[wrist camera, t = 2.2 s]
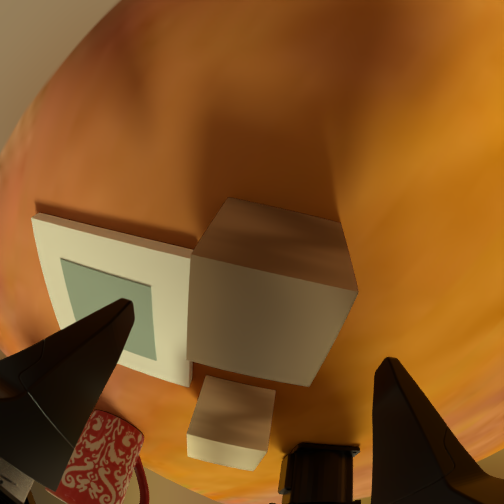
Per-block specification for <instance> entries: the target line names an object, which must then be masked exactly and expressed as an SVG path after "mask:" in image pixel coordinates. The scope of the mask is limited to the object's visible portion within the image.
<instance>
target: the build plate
mask: <svg viewBox="0 0 504 504" xmlns="http://www.w3.org/2000/svg"><path fill="white" fill-rule="evenodd" d="M31 220H32V226H33V231H34V236H35V241H36V246H37V250H38V255H39V259H40V263H41V267H42V271H43V275H44V279H45V282H46V286H47V289H48V293H49V296H50V299H51V302H52V306H53V309H54V312H55V315H56V318H57V320H58V323H59V326H60V329H61V330H62V329H64V328H65V327H67V326H69V325H71V324H73V323H75V322H77V321H78V320H80V319H82V318H84V317H86V316H88V315H90V314H92V313H93V312H95V311H97V310H99V309H101V308H103V307H105V306H107V305H108V304H110V303H112V302H114V301H116V300H118V299H120V298H126V299H129V300H131V301H132V302H133V305H134V313H135V322H134V325H133V327H132V329H131V332H130V334H129V337H128V339H127V342H126V344H125V347H124V349H123V352H122V354H121V356H120V359H119V361H118V364H120V365H123V366H126V367H128V368H131V369H134V370H136V371H139V372H142V373H145V374H148V375H151V376H154V377H157V378H160V379H163V380H166V381H169V382H172V383H175V384H179V385H182V386H185V387H189V386H190V383H191V381H192V366H193V362H192V361H189V360H186V352H187V316H188V293H189V275H190V259H191V253H192V252H193V250H192V249H188V248H184V247H179V246H175V245H171V244H167V243H163V242H158V241H154V240H150V239H146V238H142V237H137V236H133V235H129V234H125V233H121V232H117V231H112V230H108V229H104V228H100V227H96V226H92V225H88V224H84V223H80V222H76V221H72V220H68V219H64V218H60V217H56V216H52V215H48V214H44V213H40V212H39V213H38V214H36V215H35V216H33V217H32V218H31Z"/></svg>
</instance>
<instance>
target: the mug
mask: <svg viewBox="0 0 504 504" xmlns="http://www.w3.org/2000/svg"><path fill="white" fill-rule="evenodd" d="M143 442H144V437H143V435H142V434H141V432H139V431H138V430H137V429H136V428H135V427H133V426H132V425H131V424H129V423H127V422H126V421H124V420H122V419H121V418H119V417H117V416H114V415H112V414H110V413H107V412H104V411H100V410H95V411H94V412H93V413H92V414H91V416H90V417H89V419H88V421H87V423H86V425H85V427H84V429H83V432H82V434H81V436H80V438H79V440H78V442H77V444H76V447H75V448H74V451H73V453H72V456H71V458H70V460H69V462H68V465H67V467H66V469H65V472H64V474H63V476H62V479H61V481H60V483H59V486H58V488H57V490H56V492H54V491H52V490H50V489H49V488H47V487H46V488H45V489H46V490H47V491H48V492H49V493H51V494H52V495H54V496H55V497H57V498H59V499H60V500H62V501H63V502H65V503H67V504H123V501H124V497H125V494H126V491H127V488H128V485H129V482H130V479H131V477H132V473H133V470H135V473H136V476H137V480H138V484H139V489H140V503H139V504H149V489H148V484H147V480H146V476H145V472H144V469H143V465H142V462H141V459H140V456H139V453H140V450H141V447H142V445H143Z"/></svg>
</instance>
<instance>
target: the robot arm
mask: <svg viewBox="0 0 504 504" xmlns="http://www.w3.org/2000/svg"><path fill="white" fill-rule="evenodd" d="M134 322H135V313H134V305H133V302H132V301H131V300H129V299H126V298H120V299H118V300H116V301H114V302H112V303H110V304H108V305H107V306H105V307H103V308H101V309H99V310H97V311H95V312H93V313H92V314H90V315H88V316H86V317H84V318H82V319H80V320H78V321H77V322H75V323H73V324H71V325H69V326H67V327H65V328H64V329H62V330H60V331H58V332H56V333H54V334H53V335H51V336H49V337H47V338H45V340H41V341H40V342H38V343H36V344H34V345H32V346H30V347H28V348H26V349H24V350H22V351H20V352H18V353H16V354H13V355H11V356H9V357H6V358H4V359H2V360H0V504H36V503H35V501H34V498H33V495H32V492H31V490H30V488H31V486H32V484H33V482H34V480H35V481H37V482H38V483H40V484H42V485H43V486H45V487H47V488H49V489H50V490H52V491H54V492H56V490H57V488H58V486H59V483H60V481H61V479H62V476H63V474H64V472H65V469H66V467H67V465H68V462H69V460H70V458H71V456H72V453H73V451H74V448H75V447H76V444H77V442H78V440H79V438H80V436H81V434H82V432H83V429H84V427H85V425H86V423H87V421H88V419H89V417H90V415H91V413H92V411H93V409H94V407H95V405H96V403H97V401H98V399H99V397H100V395H101V393H102V391H103V389H104V387H105V385H106V383H107V381H108V379H109V378H110V376H111V374H112V372H113V370H114V368H115V366H116V364H117V363H118V361H119V359H120V356H121V354H122V352H123V349H124V347H125V344H126V342H127V339H128V337H129V334H130V332H131V329H132V327H133V325H134ZM372 423H373V470H372V494H371V504H504V479H500V478H496V477H493V476H490V475H488V474H487V473H485V472H484V471H483V470H482V469H481V468H480V467H479V465H478V464H477V463H476V462H475V460H474V459H473V458H472V457H471V456H470V454H469V453H468V452H467V451H466V450H465V448H464V447H463V446H462V445H461V443H460V442H459V441H458V440H457V438H456V437H455V435H454V434H453V433H452V431H451V430H450V429H449V427H448V426H447V424H446V423H445V422H444V420H443V419H442V417H441V416H440V415H439V413H438V412H437V411H436V409H435V408H434V406H433V405H432V404H431V402H430V401H429V400H428V398H427V397H426V396H425V394H424V393H423V392H422V390H421V389H420V388H419V386H418V385H417V384H416V382H415V381H414V380H413V378H412V377H411V376H410V374H409V373H408V372H407V370H406V369H405V368H404V367H403V365H402V364H401V363H400V361H399V360H398V359H397V358H393V357H386V358H385V359H384V360H383V362H382V363H381V364H380V366H379V367H378V369H377V370H376V372H375V376H374V394H373V409H372ZM359 452H360V448H359V447H339V446H325V445H313V444H303V443H302V444H298V445H297V446H296V447H295V449H294V450H293V451H292V452H291V453H290V454H288V455H287V456H286V457H285V458H284V460H283V461H282V465H281V472H280V480H279V487H278V493H279V494H283V498H282V504H361V500H355V501H353V457H354V456H356V455H357V454H358V453H359ZM269 504H275V503H269Z"/></svg>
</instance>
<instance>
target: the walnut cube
mask: <svg viewBox="0 0 504 504" xmlns="http://www.w3.org/2000/svg"><path fill="white" fill-rule="evenodd" d="M358 292H359V291H358V287H357V283H356V278H355V274H354V270H353V266H352V262H351V258H350V255H349V251H348V247H347V243H346V240H345V236H344V232H343V229H342V225H341V223H339V222H335V221H331V220H327V219H323V218H319V217H315V216H311V215H307V214H303V213H298V212H294V211H290V210H286V209H281V208H277V207H272V206H268V205H263V204H259V203H254V202H249V201H245V200H240V199H235V198H230V197H228V198H227V200H226V201H225V203H224V204H223V206H222V207H221V209H220V210H219V212H218V213H217V215H216V216H215V218H214V219H213V221H212V222H211V224H210V225H209V227H208V228H207V230H206V231H205V233H204V234H203V236H202V238H201V239H200V241H199V242H198V244H197V245H196V247H195V248H194V250H193V252H192V253H191V259H190V275H189V293H188V316H187V352H186V360H189V361H192V362H196V363H199V364H203V365H207V366H211V367H215V368H218V369H222V370H227V371H231V372H235V373H239V374H244V375H248V376H253V377H258V378H263V379H267V380H273V381H278V382H283V383H289V384H295V385H301V386H307V387H309V386H310V384H311V383H312V381H313V379H314V377H315V376H316V374H317V372H318V370H319V369H320V367H321V365H322V363H323V362H324V360H325V358H326V356H327V354H328V352H329V351H330V349H331V347H332V345H333V343H334V341H335V339H336V337H337V335H338V333H339V331H340V329H341V328H342V326H343V324H344V322H345V320H346V318H347V315H348V313H349V311H350V309H351V307H352V305H353V303H354V301H355V299H356V297H357V295H358Z"/></svg>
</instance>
